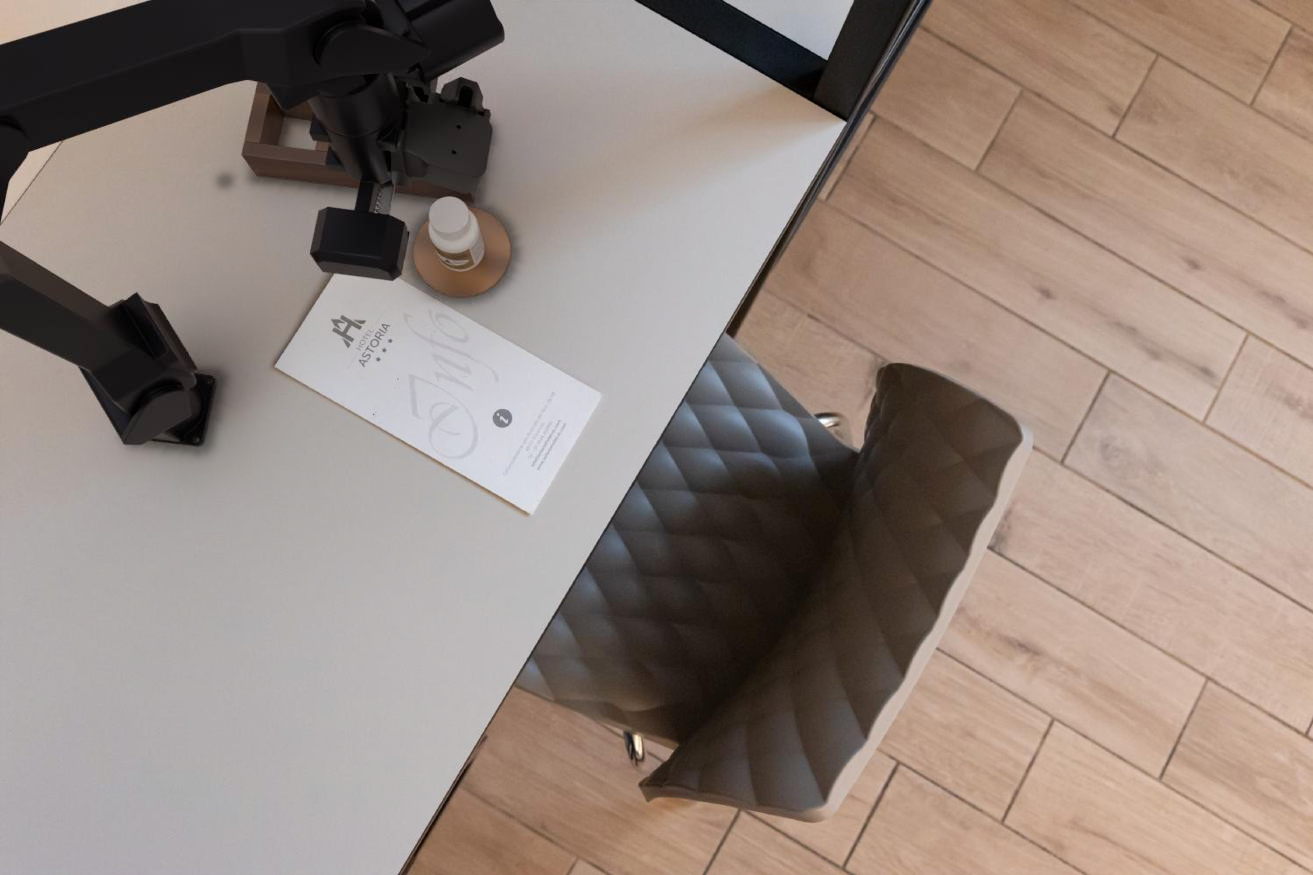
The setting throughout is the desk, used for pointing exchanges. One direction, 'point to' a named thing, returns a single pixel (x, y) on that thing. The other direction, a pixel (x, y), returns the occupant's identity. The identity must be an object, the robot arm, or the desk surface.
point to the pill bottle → (455, 234)
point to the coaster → (470, 280)
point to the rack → (306, 152)
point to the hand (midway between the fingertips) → (398, 205)
